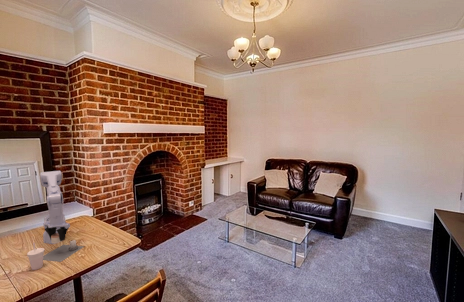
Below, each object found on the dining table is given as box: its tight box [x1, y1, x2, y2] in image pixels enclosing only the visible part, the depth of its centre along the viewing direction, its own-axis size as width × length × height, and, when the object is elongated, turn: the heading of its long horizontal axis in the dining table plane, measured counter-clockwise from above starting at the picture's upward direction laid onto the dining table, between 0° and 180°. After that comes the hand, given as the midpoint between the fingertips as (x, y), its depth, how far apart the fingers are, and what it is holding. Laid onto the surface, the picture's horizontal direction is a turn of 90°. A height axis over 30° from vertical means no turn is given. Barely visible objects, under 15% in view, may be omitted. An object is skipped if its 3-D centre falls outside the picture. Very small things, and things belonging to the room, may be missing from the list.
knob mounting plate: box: [43, 239, 85, 263], centre depth 119 cm, size 14×15×6 cm
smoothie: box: [26, 242, 46, 271], centre depth 106 cm, size 6×6×14 cm
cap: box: [51, 233, 63, 244], centre depth 117 cm, size 5×5×4 cm
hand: (57, 239), depth 118 cm, fingers closed on cap, 5 cm apart
